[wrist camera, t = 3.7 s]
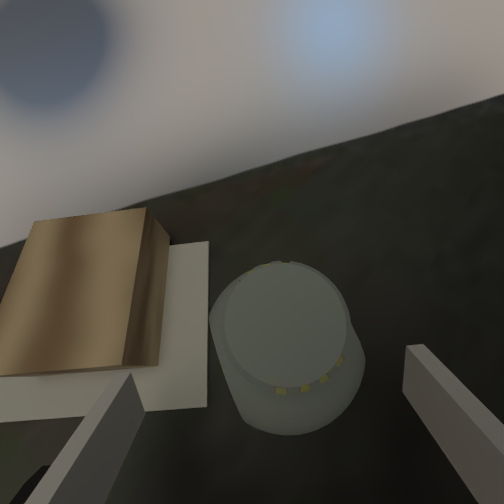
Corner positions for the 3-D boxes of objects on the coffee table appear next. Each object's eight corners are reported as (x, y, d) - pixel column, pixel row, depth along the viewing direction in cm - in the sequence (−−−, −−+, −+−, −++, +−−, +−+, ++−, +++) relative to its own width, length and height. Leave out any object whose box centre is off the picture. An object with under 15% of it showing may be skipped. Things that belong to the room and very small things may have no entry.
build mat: (209, 243, 24) (208, 241, 24) (208, 406, 18) (206, 406, 17) (42, 262, 25) (38, 260, 25) (-16, 422, 19) (-22, 424, 18)
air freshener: (365, 391, 17) (458, 413, 8) (262, 444, 17) (243, 530, 8) (295, 266, 22) (306, 196, 13) (212, 302, 21) (166, 254, 13)
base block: (170, 237, 24) (146, 207, 20) (158, 366, 19) (121, 364, 15) (77, 247, 25) (34, 221, 21) (40, 376, 20) (-30, 377, 15)
